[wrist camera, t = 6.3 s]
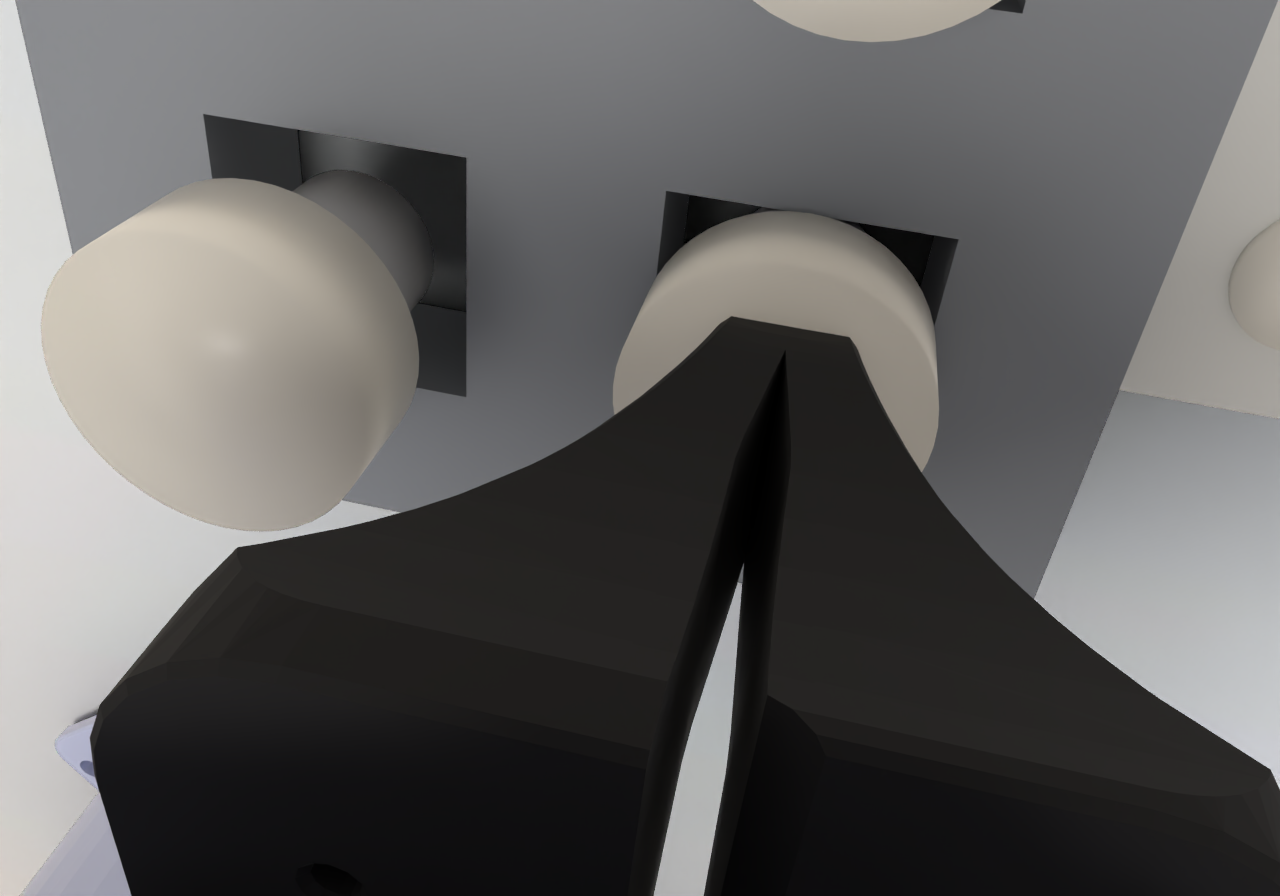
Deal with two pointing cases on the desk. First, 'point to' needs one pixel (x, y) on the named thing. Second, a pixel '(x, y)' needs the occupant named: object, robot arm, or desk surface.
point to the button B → (794, 308)
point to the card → (1226, 268)
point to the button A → (244, 343)
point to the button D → (875, 16)
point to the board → (697, 189)
